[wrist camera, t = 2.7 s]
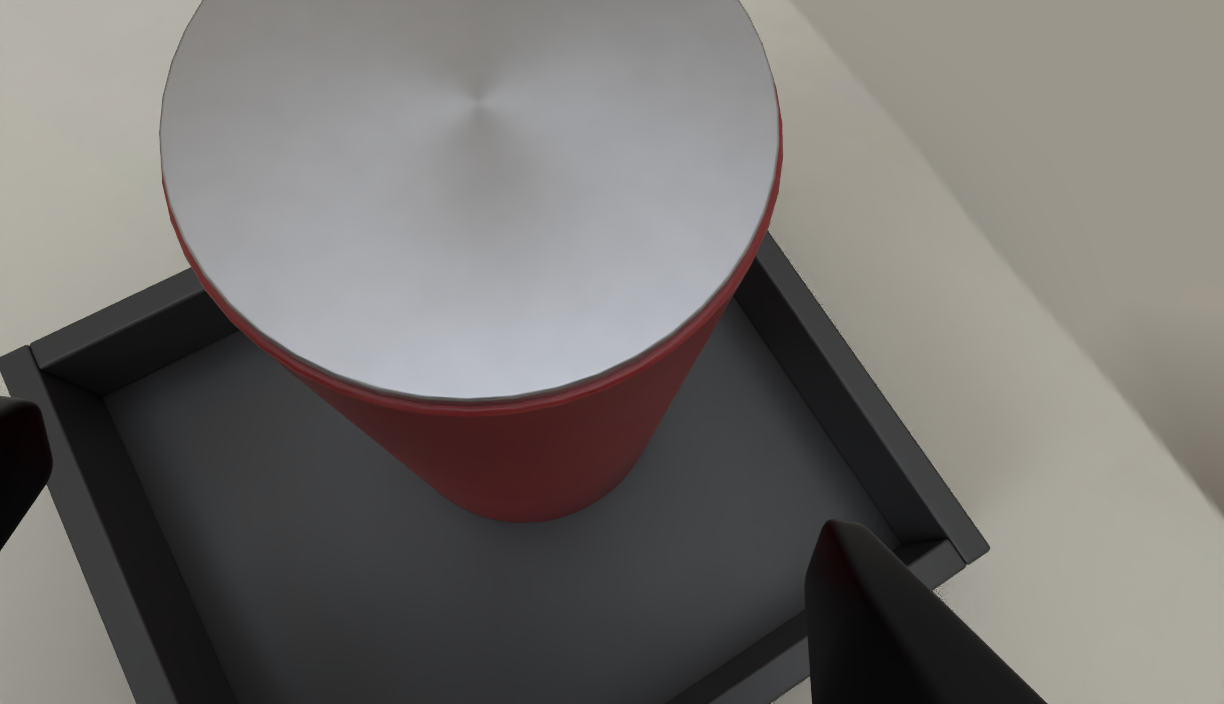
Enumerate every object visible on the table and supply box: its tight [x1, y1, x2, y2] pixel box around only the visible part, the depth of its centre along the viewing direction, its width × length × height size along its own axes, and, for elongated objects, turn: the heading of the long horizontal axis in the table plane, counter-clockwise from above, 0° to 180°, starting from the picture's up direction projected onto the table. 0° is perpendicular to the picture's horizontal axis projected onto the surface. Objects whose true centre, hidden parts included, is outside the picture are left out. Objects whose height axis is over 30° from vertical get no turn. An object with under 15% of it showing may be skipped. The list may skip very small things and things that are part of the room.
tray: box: [0, 230, 990, 704], centre depth 18 cm, size 16×14×3 cm
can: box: [159, 0, 783, 523], centre depth 14 cm, size 7×7×12 cm
